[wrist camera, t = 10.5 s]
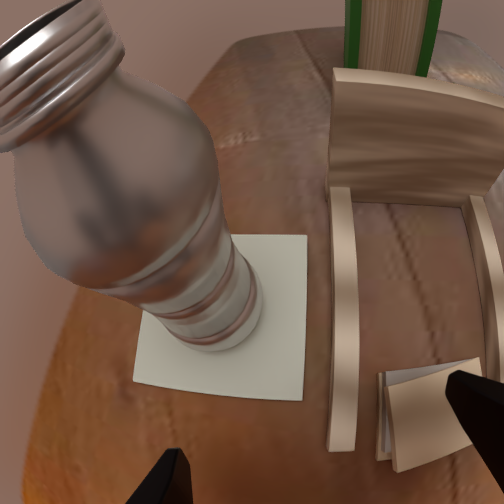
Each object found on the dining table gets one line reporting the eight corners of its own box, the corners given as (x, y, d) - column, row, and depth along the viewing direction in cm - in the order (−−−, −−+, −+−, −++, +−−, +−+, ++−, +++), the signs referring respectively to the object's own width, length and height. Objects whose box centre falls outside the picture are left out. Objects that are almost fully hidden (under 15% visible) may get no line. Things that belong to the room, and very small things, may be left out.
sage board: (301, 400, 19) (302, 400, 18) (138, 382, 21) (132, 381, 20) (306, 241, 24) (306, 235, 23) (163, 240, 26) (158, 234, 25)
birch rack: (501, 420, 15) (609, 411, 4) (322, 446, 17) (355, 505, 7) (470, 195, 24) (523, 103, 13) (324, 186, 26) (332, 67, 16)
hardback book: (409, 136, 28) (449, -80, 7) (342, 124, 30) (346, -103, 8) (392, 60, 35) (404, -84, 14) (343, 52, 37) (341, -94, 15)
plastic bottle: (283, 290, 22) (233, -50, 4) (234, 375, 19) (-90, 200, 2) (208, 253, 24) (73, -10, 6) (159, 327, 22) (-86, 136, 4)
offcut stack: (467, 445, 15) (487, 448, 13) (373, 465, 16) (384, 475, 14) (467, 360, 18) (487, 354, 16) (375, 373, 19) (387, 370, 17)
